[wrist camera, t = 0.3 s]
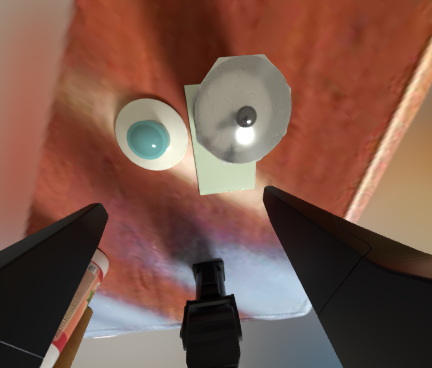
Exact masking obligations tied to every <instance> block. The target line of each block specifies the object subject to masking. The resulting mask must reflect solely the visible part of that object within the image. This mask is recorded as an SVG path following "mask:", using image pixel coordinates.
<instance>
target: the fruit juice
mask: <svg viewBox="0 0 432 368" xmlns="http://www.w3.org/2000/svg"><path fill="white" fill-rule="evenodd" d="M108 267H109V261H108V259H107V257H106V256H105V254H103V253H102V252H101V251H100V250H98V249H96V251H95V253H94V256H93V258H92V260H91V262H90V264H89V266H88V268H87V270H86V272H85V274H84V276H83V279H82V281H81V283H80V285H79V287H78V289H77V291H76V293H75V295H74V297H73V299H72V302H71V304H70V306H69V308H68V310H67V312H66V314H65V316H64V318H63V320H62V322H61V325H60V327H59V329H58V331H57V333H56V335H55V337H54V339H53V341H52V343H51V345H50V348H49V350H48V352H47V354H46V356H45V358H44V360H43V363H42V365H41V367H40V368H52V367H53V365H54V364H55V362H56V360H57V359H58V357H59V355H60V353H61V351H62V349H63V348H64V346H65V344H66V343H67V341H68V339H69V337H70V336H71V334H72V332H73V330H74V329H75V327H76V325H77V323H78V322H79V320H80V318H81V316H82V315H83V313H84V311H85V310H86V308H87V306H88V304H89V303H90V301H91V299H92V297H93V296H94V294H95V292H96V290H97V289H98V287H99V285H100V283H101V282H102V280H103V278H104V276H105V275H106V273H107V270H108Z"/></svg>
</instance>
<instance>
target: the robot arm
mask: <svg viewBox="0 0 432 368" xmlns="http://www.w3.org/2000/svg"><path fill="white" fill-rule="evenodd" d="M263 203H264V205H265V208H266V211H267V214H268V216H269V219H270V222H271V224H272V226H273V229H274V231H275V233H276V234H277V236H278V238H279V240H280V242H281V244H282V246H283V248H284V250H285V252H286V254H287V256H288V258H289V260H290V262H291V264H292V266H293V268H294V270H295V272H296V274H297V276H298V278H299V280H300V282H301V284H302V286H303V288H304V290H305V292H306V294H307V296H308V298H309V300H310V302H311V304H312V306H313V308H314V310H315V312H316V314H317V315H318V318H319V320H320V322H321V324H322V326H323V328H324V330H325V332H326V334H327V336H328V338H329V340H330V342H331V344H332V346H333V348H334V350H335V352H336V354H337V356H338V358H339V360H340V362H341V364H342V366H343V368H432V255H431V254H428V253H424V252H422V251H419V250H416V249H414V248H412V247H409V246H407V245H404V244H402V243H399V242H397V241H394V240H392V239H389V238H387V237H384V236H382V235H380V234H377V233H375V232H372V231H370V230H368V229H365V228H363V227H360V226H358V225H356V224H354V223H351V222H349V221H347V220H345V219H343V218H340V217H338V216H336V215H334V214H332V213H330V212H328V211H325V210H323V209H321V208H319V207H317V206H315V205H312V204H310V203H308V202H306V201H304V200H302V199H300V198H297V197H295V196H293V195H291V194H289V193H287V192H285V191H282V190H280V189H278V188H276V187H274V186H266V187H265V188H264V193H263ZM107 220H108V214H107V212H106V210H105V208H104V206H103V205H102V204H101V203H92V204H90V205H88V206H86V207H84V208H82V209H80V210H78V211H76V212H74V213H72V214H71V215H69V216H67V217H65V218H63V219H61V220H59V221H57V222H55V223H53V224H51V225H49V226H47V227H45V228H44V229H42V230H40V231H38V232H36V233H34V234H32V235H30V236H28V237H26V238H24V239H22V240H20V241H18V242H17V243H15V244H13V245H11V246H9V247H7V248H5V249H3V250H1V251H0V368H40V367H41V365H42V363H43V360H44V358H45V356H46V354H47V352H48V350H49V348H50V345H51V343H52V341H53V339H54V337H55V335H56V333H57V331H58V329H59V327H60V325H61V322H62V320H63V318H64V316H65V314H66V312H67V310H68V308H69V306H70V304H71V302H72V299H73V297H74V295H75V293H76V291H77V289H78V287H79V285H80V283H81V281H82V279H83V276H84V274H85V272H86V270H87V268H88V266H89V264H90V262H91V260H92V258H93V256H94V253H95V251H96V249H97V247H98V245H99V242H100V240H101V237H102V234H103V231H104V229H105V226H106V223H107ZM193 272H194V277H195V281H196V300H192V301H190V300H188V301H187V302H186V306H185V307H184V318H183V322H182V326H181V330H180V338H181V339H182V341H183V348H184V351H186V363H187V366H188V368H238V367H239V360H240V346H239V342H241V341H242V331H241V325H240V319H239V314H238V310H237V306H236V301H235V297H234V294H231V295H227V296H226V292H225V285H224V281H225V273H224V262H223V261H215V262H208V263H201V264H194V265H193Z"/></svg>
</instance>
